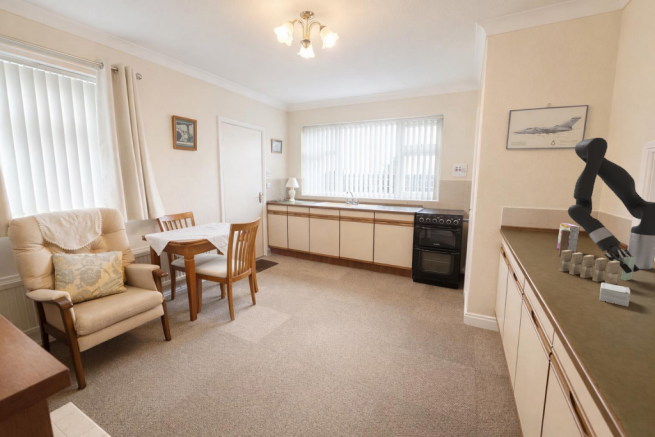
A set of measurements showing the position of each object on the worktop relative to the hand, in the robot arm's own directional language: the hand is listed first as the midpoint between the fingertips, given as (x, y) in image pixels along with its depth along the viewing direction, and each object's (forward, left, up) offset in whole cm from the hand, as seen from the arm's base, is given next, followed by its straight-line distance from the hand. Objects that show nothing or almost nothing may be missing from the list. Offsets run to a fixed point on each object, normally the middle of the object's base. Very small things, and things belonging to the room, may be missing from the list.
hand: (633, 271), depth 127 cm
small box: (+29, +17, -5) cm, 34 cm away
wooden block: (-5, -37, -4) cm, 37 cm away
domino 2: (+17, -10, -4) cm, 20 cm away
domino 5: (+14, +3, -4) cm, 15 cm away
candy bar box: (-15, -47, -4) cm, 49 cm away
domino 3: (+16, -6, -4) cm, 18 cm away
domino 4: (+15, -2, -4) cm, 15 cm away
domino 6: (0, -2, -4) cm, 5 cm away
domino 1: (+18, -15, -4) cm, 24 cm away
